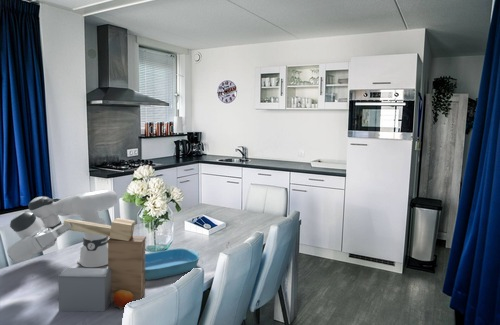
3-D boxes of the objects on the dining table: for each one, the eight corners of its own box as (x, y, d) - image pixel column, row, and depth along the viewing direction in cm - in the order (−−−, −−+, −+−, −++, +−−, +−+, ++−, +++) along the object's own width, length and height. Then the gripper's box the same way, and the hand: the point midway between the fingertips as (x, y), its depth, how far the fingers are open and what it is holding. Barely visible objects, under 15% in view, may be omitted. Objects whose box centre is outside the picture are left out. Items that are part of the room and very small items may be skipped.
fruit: (105, 307, 146) (112, 286, 149) (116, 308, 153) (123, 289, 156) (121, 311, 143) (128, 290, 146) (132, 313, 150) (138, 293, 153)
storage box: (67, 300, 153) (67, 267, 151) (111, 301, 154) (111, 268, 152) (58, 310, 144) (57, 276, 143) (104, 311, 145) (104, 277, 144)
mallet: (68, 225, 158) (70, 210, 157) (132, 235, 160) (135, 220, 159) (60, 230, 151) (63, 214, 150) (128, 241, 153) (130, 225, 152)
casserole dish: (187, 257, 208) (187, 245, 208) (207, 270, 191) (207, 257, 190) (122, 270, 186) (122, 257, 185) (138, 287, 168) (139, 272, 168)
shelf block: (113, 291, 163) (113, 235, 160) (145, 292, 163) (146, 236, 161) (107, 299, 155) (107, 240, 152) (141, 299, 156) (141, 241, 153)
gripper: (60, 237, 165) (86, 222, 165) (36, 253, 145) (66, 236, 145) (52, 225, 164) (79, 211, 164) (28, 239, 144) (58, 223, 144)
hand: (73, 223), depth 154 cm, fingers closed on mallet, 4 cm apart
